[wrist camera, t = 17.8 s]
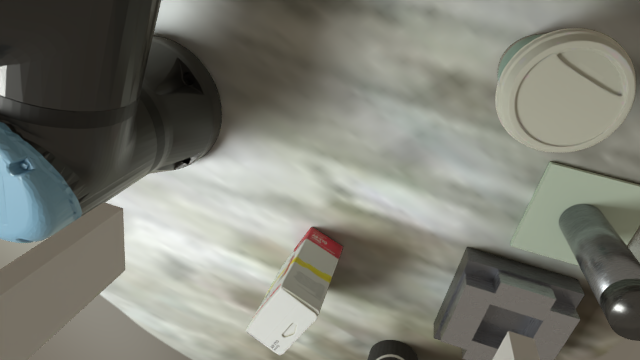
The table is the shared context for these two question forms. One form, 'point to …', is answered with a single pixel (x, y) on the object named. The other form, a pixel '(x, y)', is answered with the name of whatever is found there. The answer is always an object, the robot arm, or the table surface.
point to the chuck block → (506, 306)
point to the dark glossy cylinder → (605, 266)
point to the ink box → (296, 292)
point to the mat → (565, 191)
